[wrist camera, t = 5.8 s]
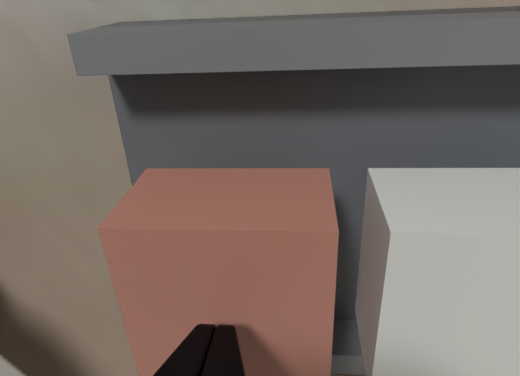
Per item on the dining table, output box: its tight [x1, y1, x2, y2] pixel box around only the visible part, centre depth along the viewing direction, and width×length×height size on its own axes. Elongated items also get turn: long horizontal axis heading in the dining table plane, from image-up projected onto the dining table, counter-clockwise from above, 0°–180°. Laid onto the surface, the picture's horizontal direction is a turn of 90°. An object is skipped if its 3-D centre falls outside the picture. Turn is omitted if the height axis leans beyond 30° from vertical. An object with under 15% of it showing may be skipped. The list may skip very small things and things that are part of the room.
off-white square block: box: [355, 168, 520, 376], centre depth 10 cm, size 5×5×3 cm
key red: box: [98, 168, 339, 376], centre depth 11 cm, size 5×5×3 cm
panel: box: [67, 6, 520, 375], centre depth 13 cm, size 20×12×3 cm, turn 92°
